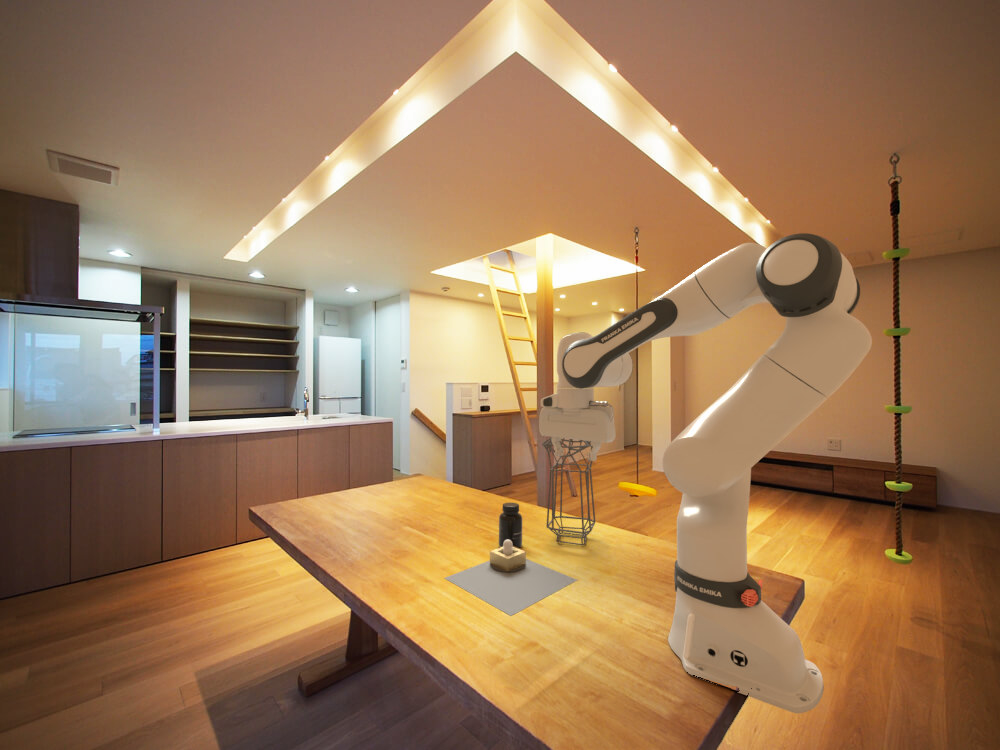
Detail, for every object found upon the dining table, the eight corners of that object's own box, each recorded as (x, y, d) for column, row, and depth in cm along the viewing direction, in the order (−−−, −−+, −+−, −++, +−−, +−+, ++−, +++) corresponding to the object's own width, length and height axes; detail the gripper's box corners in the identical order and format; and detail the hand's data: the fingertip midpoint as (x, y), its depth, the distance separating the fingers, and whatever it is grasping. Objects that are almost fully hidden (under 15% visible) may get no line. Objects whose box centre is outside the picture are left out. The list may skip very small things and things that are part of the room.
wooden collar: (525, 563, 104) (525, 551, 104) (507, 571, 99) (507, 558, 99) (507, 556, 108) (507, 544, 108) (489, 563, 104) (489, 551, 104)
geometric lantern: (594, 552, 115) (594, 427, 116) (539, 545, 120) (539, 425, 121) (600, 533, 130) (599, 422, 131) (550, 528, 135) (550, 421, 136)
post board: (577, 586, 96) (577, 552, 96) (510, 623, 80) (510, 583, 81) (510, 557, 111) (510, 529, 112) (444, 584, 96) (444, 551, 97)
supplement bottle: (520, 551, 116) (520, 508, 116) (496, 549, 117) (496, 507, 118) (523, 542, 123) (523, 501, 123) (501, 540, 124) (501, 500, 124)
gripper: (620, 401, 94) (621, 462, 94) (551, 399, 109) (551, 451, 109) (605, 402, 90) (605, 465, 90) (535, 399, 105) (535, 454, 104)
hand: (575, 458), depth 99 cm, fingers open, 8 cm apart
